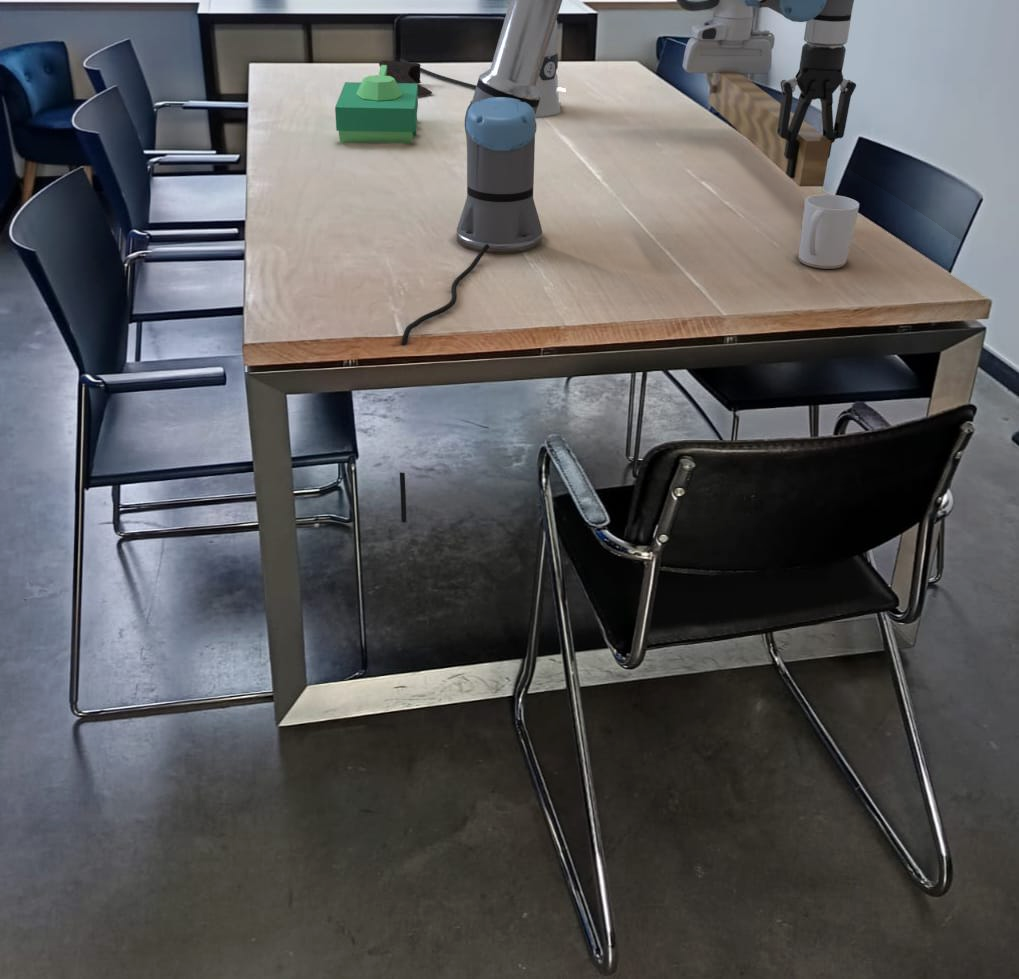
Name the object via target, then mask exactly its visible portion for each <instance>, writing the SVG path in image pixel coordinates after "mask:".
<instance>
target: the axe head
mask: <svg viewBox="0 0 1019 979" xmlns="http://www.w3.org/2000/svg"><path fill="white" fill-rule="evenodd" d="M381 65H387V73H386V76H391V77H392V78H394V79H395V81H396V82H397V83H416V84H418V98H419V97H425V96H429V95H432V94H433V91H431V90H430V89H428V88H427V87H425V86H422V85H421V84H422V82H421V71H420V68H421V63H419V62H410V61H408V62H401V61H400V60H399V61H397V60H388V59H387V60H380V61H379V62H378V66H379V69H380V68H381Z"/></svg>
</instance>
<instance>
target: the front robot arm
mask: <svg viewBox="0 0 1019 979" xmlns="http://www.w3.org/2000/svg"><path fill="white" fill-rule="evenodd" d="M854 2H855V0H743V3H744V4H745V5H746V6H748V7H752V8H757V9H762V8H769V9H770V10H772V11H774V12H776V13H777V14H780V15H781V16H782V17H784V18H786V19H787V20H789V21H791V22H795V23H805V29H804V37H803V41H804V42H806V43H804V44H803V45H802V47H801V54H800V60H799V69H798V71H797V73H796V74H795V77H793V78H790V79H787V80H786V79H783V80H781V81H780V89H781V101H780V104H781V107H780V114H779V122H778V129H777V134H778V135H779V136H780V137H781V138H783V139H786V145H785V152H784V156H785V158H786V159H788V163H787V170H786V174H785V175H786V176H787V177H788V178H790V179H791V178H794V176H795V169H796V163H797V156H798V150H799V142H798V141H797V140H796V138H797V136H798V133H799V131H800V128H801V125H802V123H803V121H805V116H806V114H807V112H808V109H809V107H810V105H811V104H812V101H813V100H820V105H821V122H822V135H823V136H825V137H826V138H827V139H829V140H830V141H831V144H830V150H829V156H828V159H830V156H831V152H832V151H831V150H832V145H833V143H834V142H835V141H836V140H837V139H843V138H844V136H845V131H846V125H847V121H848V115H849V111H850V110H849V109H850V103H851V98H852V96H853V93H854V91H855V90H856V87H857V84H856V83H855V82H854V81H852V80H851V79H845V78H844V75H843V67H844V63H845V57H846V52H847V51H846V50H847V49H846V47H845V45H846V44H847V43H848V39H849V33H850V27H851V21H852V20H851V19H852V13H853V9H854V8H853V7H854ZM562 3H563V0H510V3H509V4H508V7H507V10H506V13H505V17H504V21H503V25H502V27H501V31H500V34H499V38H498V40H497V44H496V49H495V51H494V55H493V59H492V61H491V65H490V68H489V69H488V70H486V71H485V72H483V73H481V74H479V76H478V80H477V83H476V89H474V94H473V97H472V99H471V101H470V102H469V105H468V106H467V108H466V111H465V116H464V131H465V137H466V138H465V139H466V192H467V193H466V198H465V202H464V205H463V209H462V211H461V214H460V218H459V220H458V224H457V227H456V241H457V243H458V244H459V245H461V246H462V247H464V248H466V249H468V250H470V251H475V252H478V253H477V255H476V256H475V258H474V259H473V261H472V262H471V264H469V266H468V267H467V268H466V269H465V270H464V271H463V272H461V273H460V274H459V275H458V276H457V277H456V278H455V279H454V281H453V282H452V284H451V289H450V291H451V299H450V301H449V302H447V303H446V304H445V305H443V306H441V307H439V308H438V309H434V310H433V311H430V312H428V313H425V314H424V315H422V316H420V317H418V318H417V319H415V320H414V321H413V322H411V323H409V324H408V325H407V326H406V327H405V329H404V330H403V331H404V332H403V335H402V337H401V342H400V345H401V346H406V345H407V343H408V339H409V336H410V334H411V331H412V330H413V329H414V328H417V327H418V326H419V325H421V324H423V323H424V322H425V321H427V320H429V319H432V318H434V317H436V316H439V315H441V314H443V313H445V312H447V311H448V310H450V309H451V308H452V307H453V306H454V305H455V303H456V302H457V299H458V298H457V295H458V294H457V287H458V285H459V283H460V282H461V281H462V280H464V278H465V277H467V276H468V275H469V274H470V273H471V272H472V271H473V270H474V268H476V266H477V265H478V263H479V262H480V260H481V259H482V257H483V256H484V255H485V253H486V254H497V255H499V254H500V255H506V254H507V255H508V254H517V253H524V252H527V251H530V250H533V249H536V248H538V247H539V246H540V245H541V244H542V243H543V229H542V224H541V221H540V220H541V219H540V218H539V214H538V213H539V212H538V210H537V206H536V204H535V199H534V183H535V181H534V180H535V148H536V147H535V146H536V133H537V128H538V127H537V121H536V117H535V115H536V111H537V108H538V105H539V101H540V99H541V95H540V93H539V91H538V89H537V85H536V83H537V80H538V77H539V73H540V70H541V67H542V64H543V61H544V57H545V54H546V51H547V48H548V45H549V42H550V38H551V35H552V32H553V29H554V26H555V22H556V20H557V18H558V16H559V12H560V9H561V6H562ZM796 86H798V89H799V90H800V93H799V97H798V102H797V105H796V107H795V109H794V112H793V113H794V115H793V118H792V121H791V123H790V126H789V120H790V113H791V112H792V105H793V98H794V97H793V95H794V94H793V93H794V92H795V91H796ZM838 88H839V90H840V93H839V96H838V101H837V102H838V103H837V108H836V112H835V113H836V114H835V119H834V117H833V116H834V114H833V104H834V96H833V94H834V93H835V92H836V91H837V89H838ZM788 127H789V129H788ZM399 490H400V518H401V519H400V521H401V523H403V524H404V523H407V496H406V495H407V494H406V493H407V492H406V473H405V472H401V471H399Z"/></svg>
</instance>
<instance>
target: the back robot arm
mask: <svg viewBox="0 0 1019 979" xmlns="http://www.w3.org/2000/svg"><path fill="white" fill-rule="evenodd" d="M506 1H507V4H508V5H509V3H510V0H506ZM676 3H677V4H678V6H680V7H681V8H682V9H684V10H685V11H689V12H695V13H696V12H701V11H705V10H712V11H713V16H712V17H713V18H712V19H710V20H707V21H704V22H701V23H697V24H695V25H692V27H691V29H690V34H691V36H692V37H690V38H689V39H688V41H687V43H686V46H685V49H684V54H683V60H682V68H683V69H684V71H685V72H686V73H688V74H704V79H705V81H706V83H707V93H708V94H709V93H715V89H716V85H714V84H712V82H711V80H710V78H713V73H719V72H739V73H740V74H741V75H743V76H744V77H746V78H747V79H748V75H767V74H769V72H770V71H771V69H772V60H773V59H772V58H773V55H772V54H773V49H774V47H775V40H776V38H775V35H774V34H773V32H770V30H766V29H765V30H759V29H752V28H753V20H754V12H753V11H754V10H753V7H748V6H746V5H745V4H744V3H743V0H676ZM558 26H559V25H558V20H557V19H556V22H555V26H554V29H553V32H552V35H551V38H550V42H549V45H548V48H547V51H546V54H545V57H544V61H543V64H542V67H541V70H540V73H539V77H538V80H537V83H536V85H537V89H538V91H539V93H540V95H541V99H540V101H539V105H538V108H537V111H536V115H535V118H536V117H537V118H538V117H548V116H549V117H550V116H554V115H558V114H560V113H561V112H562V111H561V107H562V104H561V102H560V95H559V92H565V93H566V92H567V90H566V88H564V87H559V77H558V74H557V70H558V68H559V54H558V53H557V51H558V50H557V49H558V48H557V47H558ZM399 62H409V61H408V60H405V59H404V58H402V57H401V58H399ZM420 73H424V74H426V75H428V76H431V77H434V78H437V79H440V80H443V81H446V82H449V83H452V84H455V85H460V86H463V87H466V88H469V89H474V90H476V86H477V84H476V85H475V84H472V83H469V82H464V81H461V80H458V79H454V78H451V77H447V76H445V75H441V74H438V73H435V72H432V71H430V70H427V69H426V68H424V67H423V68H422V67H420Z"/></svg>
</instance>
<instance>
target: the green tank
mask: <svg viewBox="0 0 1019 979" xmlns="http://www.w3.org/2000/svg"><path fill="white" fill-rule="evenodd" d="M386 73H387V65H381V68H380V67H379V72H378V74H376V75H375V74H374V75H368V76H366V77H363V78H362V80H361V82H358V81H355V82H354V81H353V82H352V81H345V82H344V84H343V86H342V88H341V92H340V93H339V96H338V99H337V101H336V104H335V107H334V112H335V128H336V129H335V130H336V131H337V132H338V137H339V142H340V143H341V144H413V142H414V139H413V138H414V137H417V129H418V108H419V97H418V84H416V83H397V82H396V81H395V79H394V78H392V77H391V76H386Z"/></svg>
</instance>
